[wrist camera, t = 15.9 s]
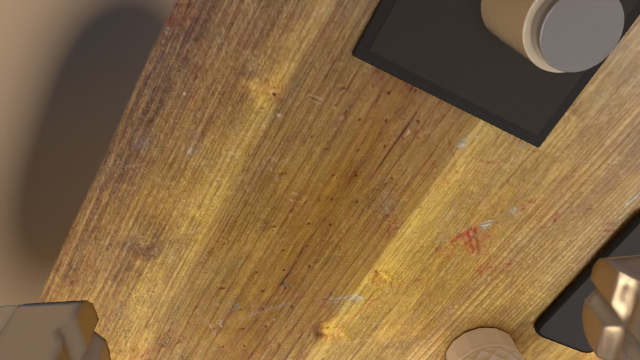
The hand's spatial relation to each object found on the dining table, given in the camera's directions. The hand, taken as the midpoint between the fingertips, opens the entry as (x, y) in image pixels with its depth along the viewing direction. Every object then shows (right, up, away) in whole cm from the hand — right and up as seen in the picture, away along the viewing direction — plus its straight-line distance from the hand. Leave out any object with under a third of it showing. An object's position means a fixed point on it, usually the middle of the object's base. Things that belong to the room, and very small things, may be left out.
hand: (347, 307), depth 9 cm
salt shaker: (+13, +14, +26) cm, 32 cm away
